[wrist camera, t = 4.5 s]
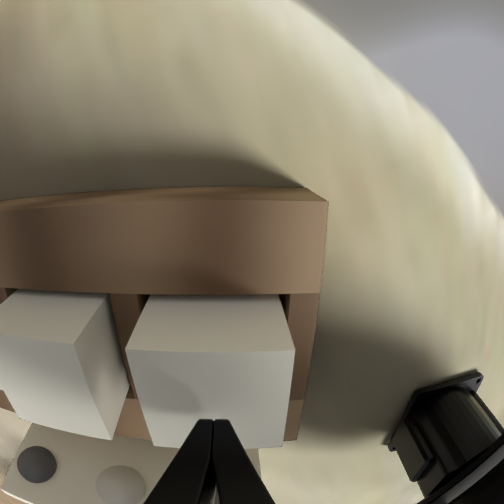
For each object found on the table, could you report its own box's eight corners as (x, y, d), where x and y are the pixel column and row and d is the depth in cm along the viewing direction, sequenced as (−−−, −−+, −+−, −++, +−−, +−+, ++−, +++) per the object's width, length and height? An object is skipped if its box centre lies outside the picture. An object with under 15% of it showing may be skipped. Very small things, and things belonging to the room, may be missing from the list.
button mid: (115, 283, 11) (73, 344, 7) (134, 372, 13) (111, 440, 9) (28, 280, 11) (-26, 328, 7) (53, 362, 12) (19, 418, 8)
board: (305, 187, 12) (328, 201, 9) (287, 398, 16) (296, 440, 13) (-52, 209, 11) (-87, 223, 8) (-3, 371, 14) (-23, 398, 12)
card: (257, 440, 17) (268, 538, 10) (257, 447, 17) (267, 542, 10) (33, 415, 16) (-2, 486, 9) (37, 423, 16) (5, 493, 9)
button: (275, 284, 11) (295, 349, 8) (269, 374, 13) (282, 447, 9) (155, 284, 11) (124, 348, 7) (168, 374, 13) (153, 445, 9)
